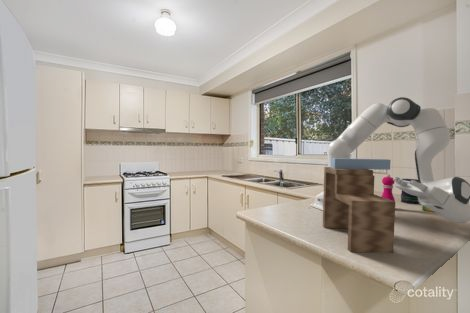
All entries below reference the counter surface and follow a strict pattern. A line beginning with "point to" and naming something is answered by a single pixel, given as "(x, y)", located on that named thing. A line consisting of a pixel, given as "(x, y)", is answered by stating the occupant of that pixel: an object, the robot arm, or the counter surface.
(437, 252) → the counter surface
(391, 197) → the pepper mill
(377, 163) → the beam
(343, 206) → the step shelf
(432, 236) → the counter surface
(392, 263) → the counter surface
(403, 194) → the storage jar
